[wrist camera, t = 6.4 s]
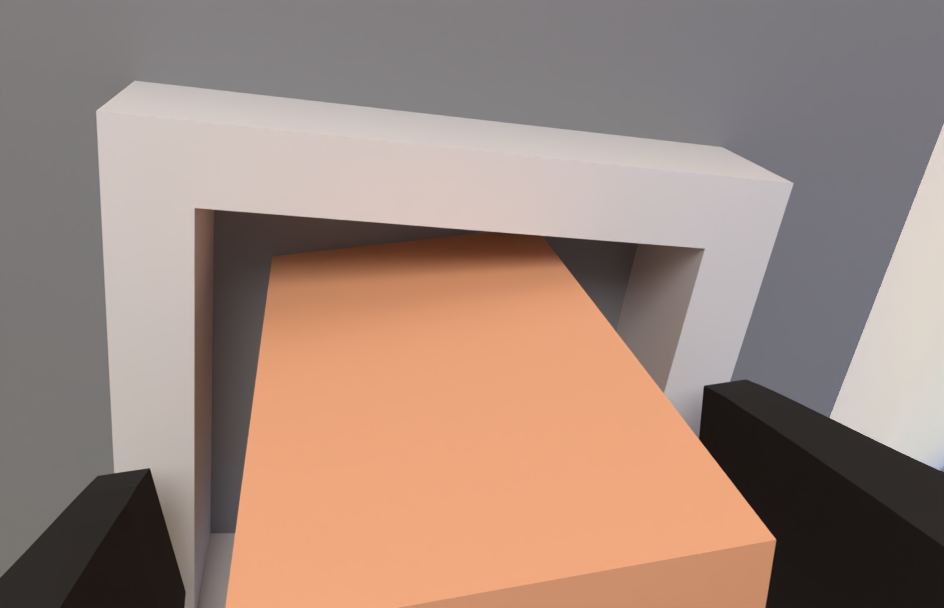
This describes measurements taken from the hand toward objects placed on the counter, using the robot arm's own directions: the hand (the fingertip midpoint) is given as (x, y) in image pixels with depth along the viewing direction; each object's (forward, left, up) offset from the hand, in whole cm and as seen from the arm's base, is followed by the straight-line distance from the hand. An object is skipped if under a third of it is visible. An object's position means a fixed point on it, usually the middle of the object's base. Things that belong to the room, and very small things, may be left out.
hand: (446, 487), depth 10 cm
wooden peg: (0, 0, -3) cm, 3 cm away
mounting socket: (0, 0, -4) cm, 4 cm away
